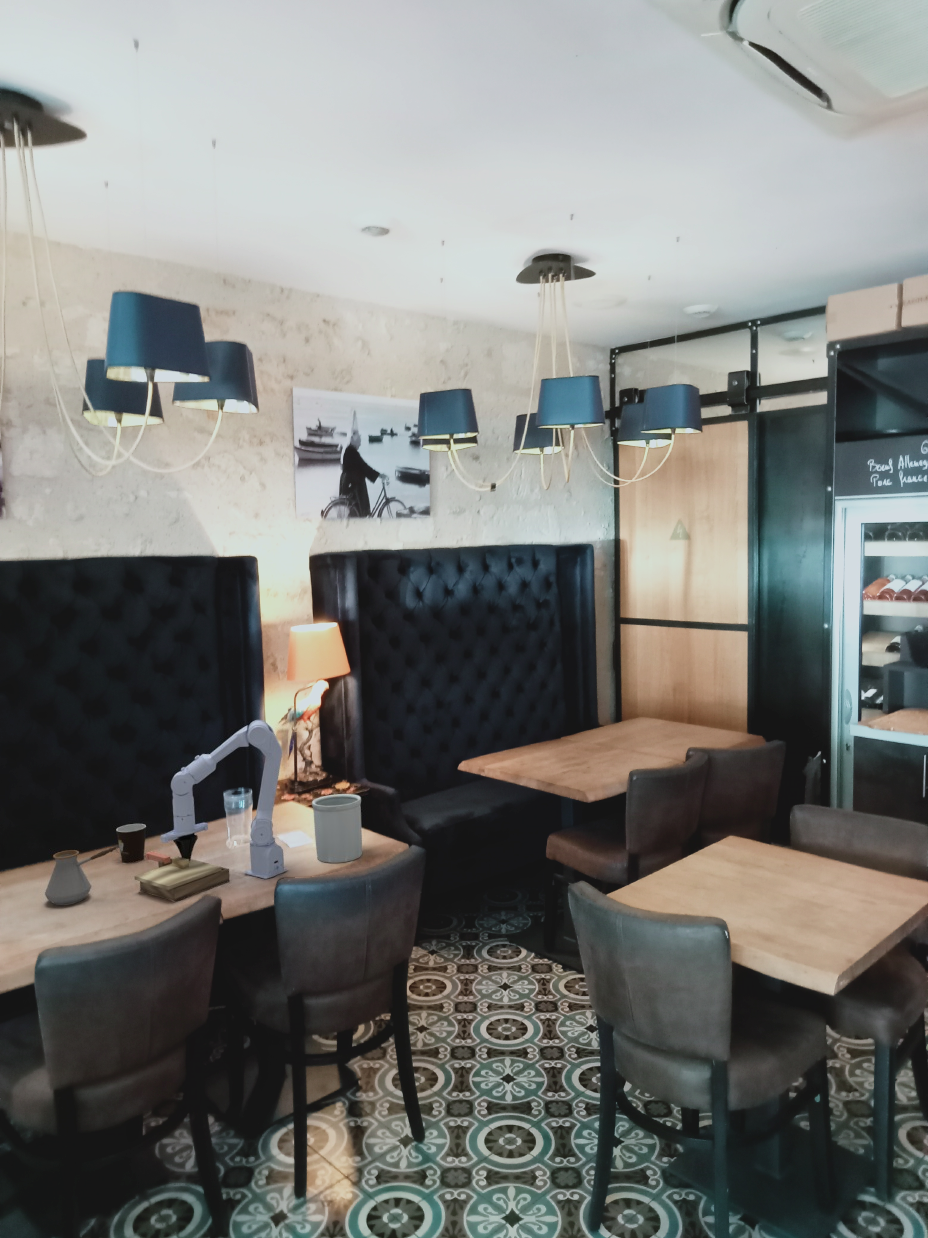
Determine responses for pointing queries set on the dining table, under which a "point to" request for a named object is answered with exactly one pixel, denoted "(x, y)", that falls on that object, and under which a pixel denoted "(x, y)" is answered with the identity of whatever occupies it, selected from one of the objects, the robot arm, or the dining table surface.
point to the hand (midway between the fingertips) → (186, 861)
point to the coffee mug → (131, 842)
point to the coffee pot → (70, 878)
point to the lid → (177, 873)
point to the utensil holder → (338, 827)
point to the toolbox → (187, 885)
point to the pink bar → (157, 857)
